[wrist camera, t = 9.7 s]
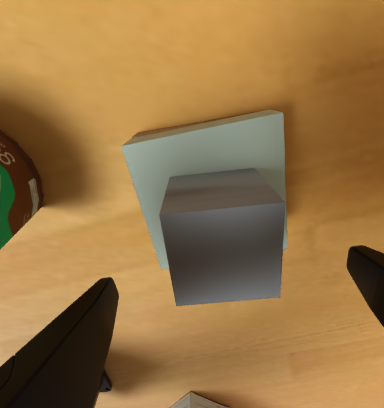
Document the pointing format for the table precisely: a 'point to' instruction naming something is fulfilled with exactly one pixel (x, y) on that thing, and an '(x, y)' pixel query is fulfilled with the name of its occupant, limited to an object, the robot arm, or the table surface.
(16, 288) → the table surface
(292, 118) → the table surface
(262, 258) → the grey cube
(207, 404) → the supplement box
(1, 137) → the food container
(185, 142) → the sage slab
